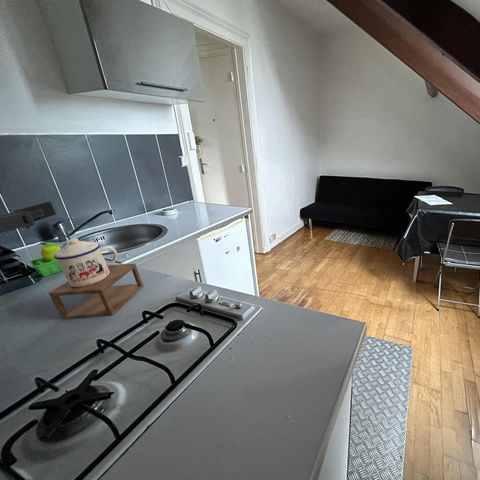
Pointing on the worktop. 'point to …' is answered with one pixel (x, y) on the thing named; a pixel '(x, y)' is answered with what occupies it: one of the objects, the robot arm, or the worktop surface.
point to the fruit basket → (47, 260)
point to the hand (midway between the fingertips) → (18, 210)
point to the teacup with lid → (83, 262)
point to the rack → (99, 294)
